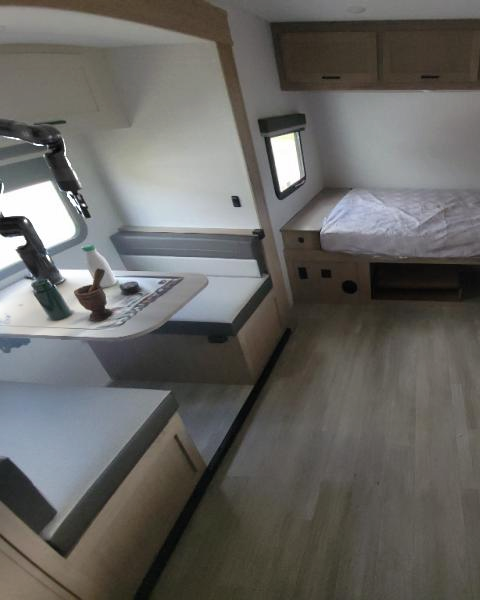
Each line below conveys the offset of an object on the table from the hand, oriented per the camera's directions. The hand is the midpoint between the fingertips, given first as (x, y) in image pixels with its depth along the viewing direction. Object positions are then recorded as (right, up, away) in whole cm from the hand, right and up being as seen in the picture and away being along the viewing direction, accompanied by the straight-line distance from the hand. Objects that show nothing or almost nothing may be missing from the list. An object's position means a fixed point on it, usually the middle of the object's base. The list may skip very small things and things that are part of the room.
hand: (85, 215), depth 147 cm
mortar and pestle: (+16, -44, -7) cm, 47 cm away
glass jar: (-2, -44, -9) cm, 45 cm away
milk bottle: (-3, -30, +14) cm, 33 cm away
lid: (+13, -34, +9) cm, 37 cm away
